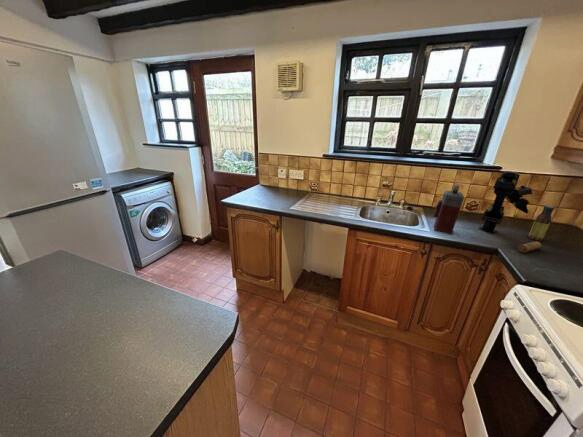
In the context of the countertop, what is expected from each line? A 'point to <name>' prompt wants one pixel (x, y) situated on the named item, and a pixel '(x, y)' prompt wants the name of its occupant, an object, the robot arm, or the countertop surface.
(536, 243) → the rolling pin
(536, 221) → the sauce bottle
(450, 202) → the red bottle
